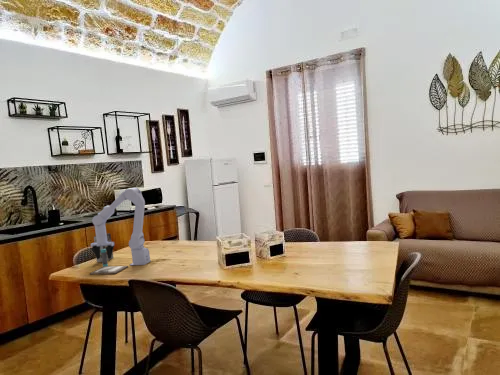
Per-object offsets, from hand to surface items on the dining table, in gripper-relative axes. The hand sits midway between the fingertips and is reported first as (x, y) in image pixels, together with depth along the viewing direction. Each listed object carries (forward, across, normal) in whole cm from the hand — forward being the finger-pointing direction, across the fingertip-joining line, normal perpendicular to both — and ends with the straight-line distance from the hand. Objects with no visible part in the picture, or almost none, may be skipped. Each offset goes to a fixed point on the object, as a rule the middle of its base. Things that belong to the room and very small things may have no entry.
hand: (104, 258), depth 217 cm
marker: (+5, 0, 0) cm, 5 cm away
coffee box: (+5, -10, +14) cm, 18 cm away
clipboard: (+5, +9, -9) cm, 14 cm away
